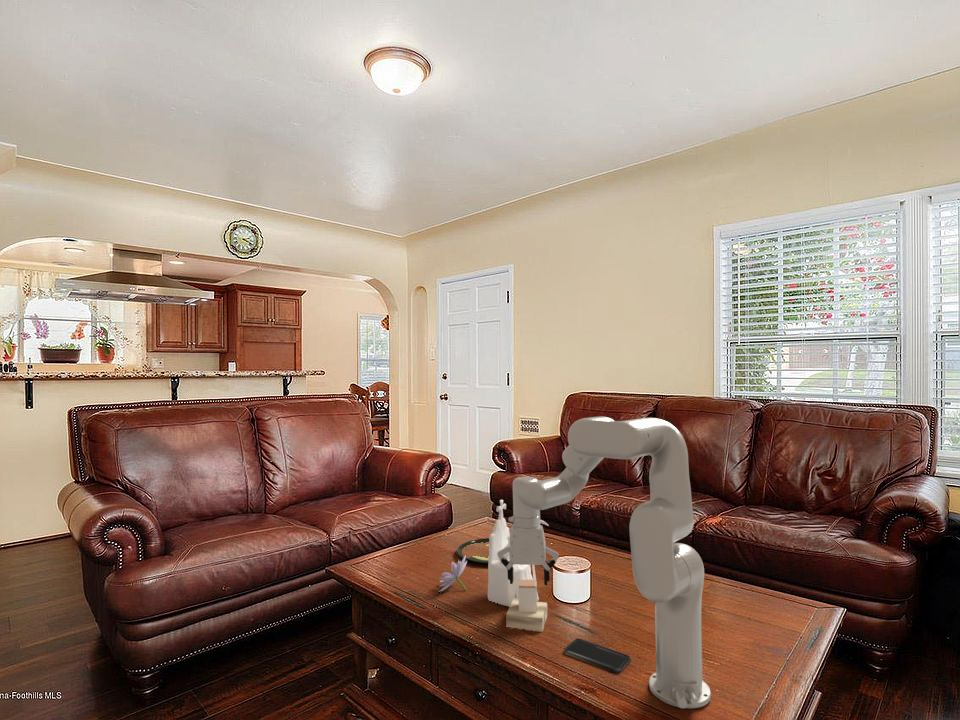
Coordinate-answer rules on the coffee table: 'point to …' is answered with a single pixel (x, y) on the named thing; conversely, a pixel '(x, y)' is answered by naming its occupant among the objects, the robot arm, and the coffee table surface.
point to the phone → (597, 655)
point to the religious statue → (497, 572)
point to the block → (526, 617)
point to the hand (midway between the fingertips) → (528, 582)
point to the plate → (474, 558)
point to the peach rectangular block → (527, 595)
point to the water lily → (457, 571)
